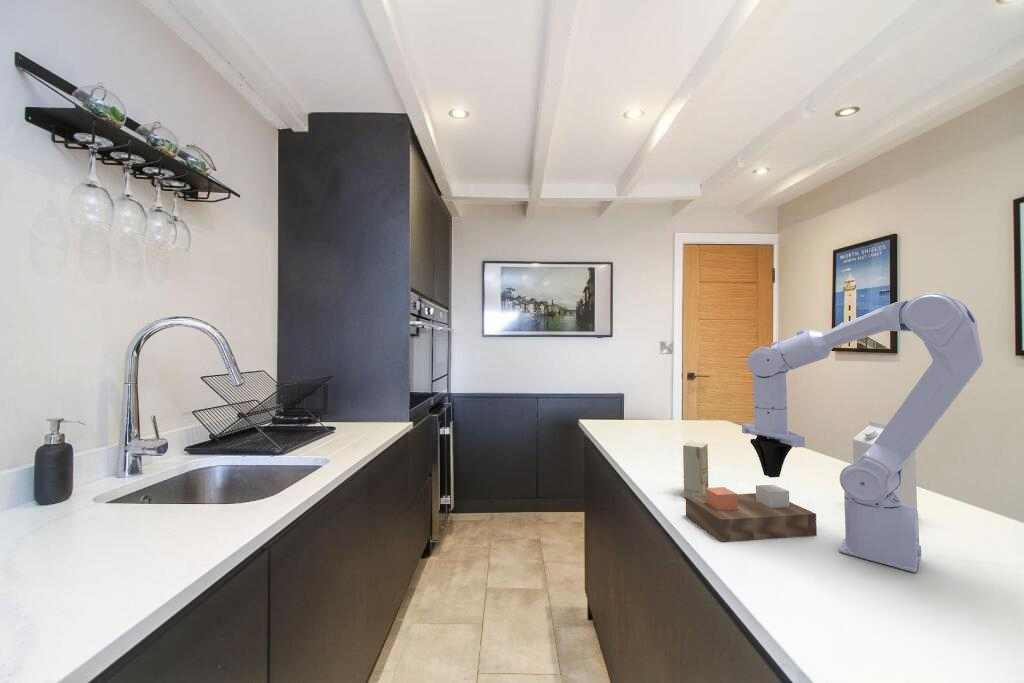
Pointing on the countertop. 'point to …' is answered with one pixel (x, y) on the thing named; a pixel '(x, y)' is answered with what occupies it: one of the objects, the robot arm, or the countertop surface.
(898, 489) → the milk carton
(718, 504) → the terracotta button
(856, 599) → the countertop surface
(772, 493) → the grey button
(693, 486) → the skincare box
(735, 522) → the button block
